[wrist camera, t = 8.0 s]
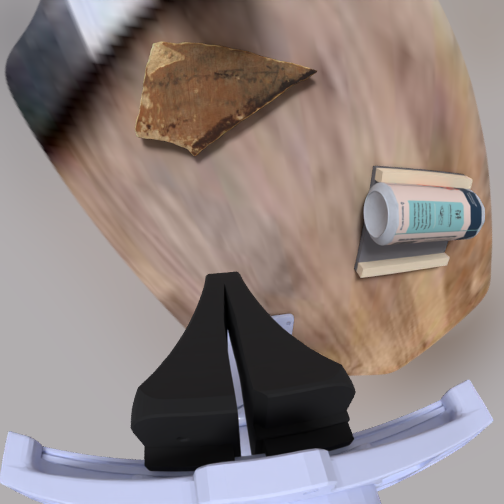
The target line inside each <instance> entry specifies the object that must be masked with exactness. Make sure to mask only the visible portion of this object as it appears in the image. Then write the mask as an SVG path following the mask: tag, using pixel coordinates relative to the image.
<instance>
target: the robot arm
mask: <svg viewBox="0 0 504 504" xmlns="http://www.w3.org/2000/svg"><path fill="white" fill-rule="evenodd" d="M287 322H288V323H287ZM293 323H294V317H293V315H292V314H283V315H275V316H270V315H269V314H268V313H267V312H266V310H265V309H264V308H263V307H262V306H261V305H260V304H259V302H258V301H257V300H256V298H255V297H254V296H253V294H252V293H251V292H250V290H249V289H248V287H247V286H246V284H245V283H244V281H243V279H242V277H241V275H240V274H239V273H238V272H228V273H216V274H208V275H207V276H206V279H205V284H204V288H203V291H202V295H201V297H200V300H199V303H198V305H197V308H196V310H195V312H194V314H193V316H192V318H191V320H190V322H189V324H188V326H187V328H186V330H185V332H184V333H183V335H182V337H181V338H180V340H179V341H178V343H177V344H176V346H175V347H174V349H173V350H172V351H171V353H170V354H169V355H168V357H167V358H166V359H165V360H164V361H163V362H162V364H161V365H160V366H159V367H158V368H157V369H156V371H155V372H154V373H153V374H152V375H151V376H150V377H149V378H148V379H147V380H146V381H144V383H142V384H141V385H140V386H139V387H138V389H137V392H136V395H135V398H134V402H133V407H132V415H131V429H132V431H133V433H134V434H135V435H136V436H137V438H138V439H139V440H140V441H141V442H142V444H143V445H144V446H145V451H144V452H145V454H144V455H145V456H144V460H136V459H135V460H134V459H121V458H111V457H102V456H94V455H87V454H80V453H74V452H68V451H63V450H58V449H53V448H48V447H44V446H42V445H41V444H40V443H39V442H38V441H36V440H35V439H33V438H31V437H29V436H26V435H22V434H18V433H15V432H11V431H9V432H8V436H7V440H6V445H5V450H4V455H3V460H2V466H1V472H0V483H1V484H3V485H5V486H7V487H9V488H10V489H13V490H14V491H16V492H18V493H20V494H23V495H24V496H26V497H28V498H31V499H33V500H35V501H38V502H41V503H44V504H381V502H380V498H379V496H378V493H377V492H378V491H380V490H383V489H385V488H387V487H389V486H391V485H394V484H396V483H398V482H400V481H402V480H404V479H406V478H408V477H410V476H412V475H414V474H416V473H418V472H420V471H422V470H424V469H426V468H428V467H429V466H431V465H433V464H435V463H436V462H438V461H440V460H442V459H443V458H445V457H447V456H448V455H450V454H452V453H453V452H455V451H457V450H458V449H460V448H461V447H463V446H464V445H466V444H467V443H468V442H469V441H471V440H472V439H473V438H474V437H475V436H477V435H478V434H479V433H480V432H482V431H483V430H484V429H485V428H486V427H487V426H488V425H490V424H491V423H492V422H493V418H492V416H491V415H490V413H489V411H488V409H487V408H486V406H485V404H484V403H483V401H482V399H481V398H480V396H479V394H478V393H477V391H476V390H475V388H474V386H473V385H472V383H471V382H470V380H466V381H464V382H462V383H460V384H458V385H456V386H454V387H453V388H451V389H449V390H448V391H447V392H446V393H445V394H444V395H443V397H442V398H441V400H439V401H437V402H435V403H433V404H430V405H428V406H426V407H424V408H422V409H419V410H417V411H415V412H412V413H410V414H407V415H405V416H402V417H400V418H397V419H394V420H392V421H389V422H386V423H384V424H381V425H378V426H375V427H372V428H369V429H366V430H363V431H360V432H356V433H353V434H352V432H351V429H350V427H349V424H348V421H349V420H350V419H349V415H348V413H347V408H348V407H349V405H350V403H351V401H352V399H353V398H354V395H355V388H354V386H353V384H352V381H351V380H350V378H349V376H348V374H347V373H346V371H345V369H344V368H343V366H342V365H341V364H339V363H337V362H335V361H332V360H330V359H328V358H326V357H324V356H322V355H320V354H319V353H317V352H315V351H314V350H312V349H310V348H309V347H307V346H306V345H304V344H303V343H302V342H300V341H299V340H297V339H296V338H295V337H293V336H292V330H293Z"/></svg>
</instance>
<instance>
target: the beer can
mask: <svg viewBox="0 0 504 504" xmlns="http://www.w3.org/2000/svg"><path fill="white" fill-rule="evenodd" d="M364 222H365V225H366V228H367V230H368V232H369V234H370V236H371V238H372V239H373V240H374V242H376V243H377V244H379V245H382V246H383V245H394V244H408V243H421V242H434V241H448V240H461V239H470V238H473V237H474V236H476V235H477V233H478V232H479V231H480V229H481V227H482V226H483V224H484V222H485V208H484V206H483V204H482V202H481V200H480V198H479V197H478V196H477V195H476V194H475V193H474V192H473V191H471V190H469V189H464V188H455V187H444V186H432V185H419V184H404V183H386V182H379V183H376V184H375V185H373V186H372V187H371V189H370V190H369V192H368V195H367V197H366V200H365V203H364Z"/></svg>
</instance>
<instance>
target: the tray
mask: <svg viewBox="0 0 504 504" xmlns="http://www.w3.org/2000/svg"><path fill="white" fill-rule="evenodd" d="M379 182H386V183H404V184H419V185H432V186H444V187H455V188H465V189H471V185H472V179H471V178H469V177H467V176H465V175H464V174H458V173H450V172H441V171H432V170H422V169H411V168H398V167H384V166H373V172H372V179H371V185H370V189H371V187H372V186H373V185H375V184H376V183H379ZM447 244H448V241H434V242H421V243H408V244H394V245H383V246H382V245H379V244H377V243H376V242H374V240H373V239H372V238H371V236H370V234H369V232H368V230H367V228H366V225H365V222H364V225H363V230H362V235H361V240H360V245H359V250H358V254H357V259H356V263H355V268H354V269H355V270H356V272H357V273H358V274H359V276H360V277H361V278H364V277H371V276H378V275H386V274H393V273H400V272H406V271H413V270H419V269H426V268H432V267H438V266H445V265H447V263H448V260H449V258H450V257H449V256H447V255H446V254H445V253H444V252H445V249H446V247H447Z"/></svg>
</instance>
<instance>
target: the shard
mask: <svg viewBox="0 0 504 504" xmlns="http://www.w3.org/2000/svg"><path fill="white" fill-rule="evenodd" d="M316 72H317V70H313V69H310V68H308V67H303V66H300V65H297V64H294V63H289V62H283V61H278V60H275V59H271V58H267V57H263V56H260V55H256V54H254V53H251V52H248V51H243V50H237V49H231V48H228V47H224V46H218V45H206V44H203V43H189V42H182V43H179V44H175V43H168V42H158V43H154V44H153V46H152V49H151V52H150V57H149V61H148V63H147V66H146V70H145V76H144V82H143V92H142V97H141V103H140V110H139V115H138V117H137V120H136V125H135V132H136V136H137V137H139V138H145V139H155V140H161V141H166V142H171V143H174V144H176V145H178V146H181V147H183V148H186V149H188V150H189V151H190V153H191V154H192V155H193V156H196V155H198V154H199V153H200V152H201V151H202V150H203V149H205V148H206V147H207V146H208V145H209V144H211V143H213V142H214V141H215V140H217V139H218V138H220V136H221V135H223V134H224V133H226V132H227V131H228V130H230V129H232V128H233V127H234V126H236V125H237V124H238V123H240V122H241V121H243V120H244V119H246V118H247V117H249V116H251V115H252V114H254V113H255V112H257V111H258V110H259V109H261V108H263V107H264V106H265V105H267V104H268V103H270V102H271V101H272V100H274V99H276V98H277V97H278V96H279V95H281V94H282V93H283V92H284V91H285V90H286V89H288V88H290V87H291V86H293V85H294V84H296V83H298V82H299V81H303V80H306V79H307V78H308V77H310V76H312V75H313V74H315V73H316Z"/></svg>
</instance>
